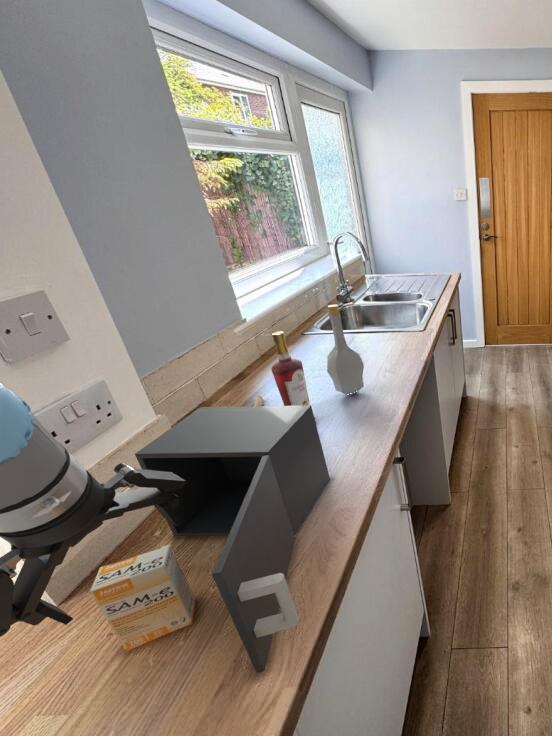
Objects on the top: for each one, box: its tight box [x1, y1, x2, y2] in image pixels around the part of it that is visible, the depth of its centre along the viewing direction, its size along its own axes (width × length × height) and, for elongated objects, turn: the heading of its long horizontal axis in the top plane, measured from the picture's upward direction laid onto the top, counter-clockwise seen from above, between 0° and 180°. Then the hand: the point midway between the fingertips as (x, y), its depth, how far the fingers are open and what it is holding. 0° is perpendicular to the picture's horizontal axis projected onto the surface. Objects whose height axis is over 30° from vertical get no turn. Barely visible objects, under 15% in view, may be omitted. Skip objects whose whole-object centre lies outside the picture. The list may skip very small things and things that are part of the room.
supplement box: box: [89, 544, 196, 652], centre depth 60 cm, size 8×5×13 cm, turn 120°
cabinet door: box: [211, 455, 301, 674], centre depth 64 cm, size 6×24×20 cm, turn 17°
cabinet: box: [134, 404, 331, 538], centre depth 82 cm, size 16×24×20 cm, turn 89°
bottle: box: [326, 304, 365, 396], centre depth 125 cm, size 11×11×30 cm
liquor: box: [270, 331, 316, 419], centre depth 109 cm, size 7×7×28 cm
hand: (122, 563), depth 54 cm, fingers open, 13 cm apart
